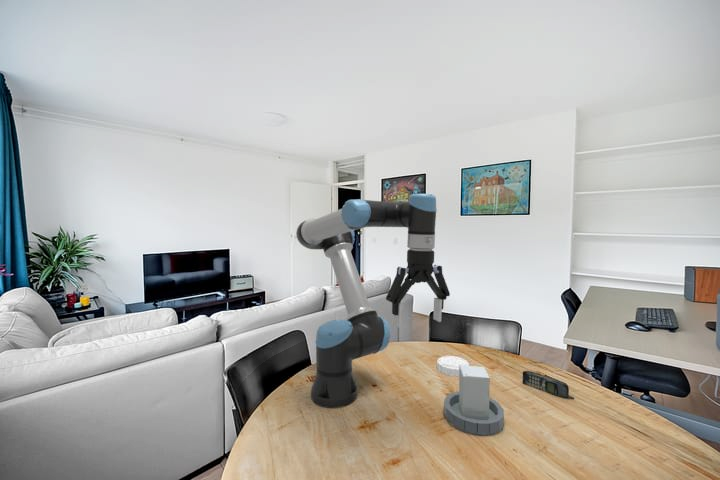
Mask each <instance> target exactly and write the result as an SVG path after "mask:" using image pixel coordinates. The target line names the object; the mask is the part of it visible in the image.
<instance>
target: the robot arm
mask: <svg viewBox="0 0 720 480" xmlns="http://www.w3.org/2000/svg"><path fill="white" fill-rule="evenodd" d="M437 210H438V209H437V197H436V196H435V195H434V194H432V193H431V194H430V193H412V194H410V195H409V197H408V201H407V202H406V201H403V202H402V201H401V202H400V201H398V202H397V201H386V200H385V201H384V200H383V201H382V200H380V201H379V200H366V199H360V198H358V199H348V200H347V201H345V202H344V205H343V206H342V208H339V209H337V210H335V211H333V212H331V213H328V214H326V215H323V216H321V217H317V218H309V219H306V220H304V221H302V222H300V224H299V225H298V227H297V228H296V238H297V240H298V243H299V244H300V245H301V246H303V247H304V248H306V249H308V250H323V252H324V256H325V257H326V258H329V259H330V262H331V265H332V269H333V273H334V275H335V278H336V282H337V284H338V287H339V290H340V294H341V297H342V300H343V303H344V307H345V309H346V312H347V317H346V319H338V320H337V319H335V320H330V321H327V322H324V323H323V324H321V325H320V326H319V327H318V329H317V331H316V334H315V335H316V337H315V345H316V346H315V351H316V354H315V356H316V357H315V358H316V366H315V367H316V374H315V376H314V379H313V382H312V385H311V389H310V395H311V401H313V403H314V404H316V405H317V406H320V407H322V408H323V407H324V408H332V409H333V408H342V407H345V406H349V405H350V404H352V403H353V402H354V401H355V400H357V398H358V386H357V382H356V379H355V376H354V373H353V361H354V360H357V359H359V358H362V357H366V356H368V355H375V354H377V353H379V352H382V351H384V350H386V348H387V347H388V346H389V343H390V339H391V330H390V329H391V328H390V326H389V323H388V321H387V319H385V318H384V317H381V316H379V315H378V312H377V310H376V309H375V308H372V307H371V306H370V302H369V299H368V297H367V294H366V291H365V289H364V285H363V283H362V280H361V276H360V274H359V271H358V268H357V265H356V262H355V259H354V257H353V255H352V250H353V248H354V246H353V245H354V244H355V239H356V238H355V236H356V235H355V231H356V230H360V229H364V228H407V245H406V246H407V248H408V249H407V250H406V262H407V266H406V267H403V266H402V267H401V266H397V268H396V273H395V274H396V275H395V277H394V279H393V281H392V283H391V286H390V288H389V290H388V292H387V294H386V297H385V299H386V301H388V302H390V303H392V304H391V313H392V314H393V315H394V316H393V325H394V326H395V327H397V328H398V329H401V328H402V323H403V322H402V319H403V316H402V315H403V303H401V302H402V300H403V299H404V297H405V296H406V294H407V293H408V292H409V290H410V289H411V288H412V286H414V285H415V284H420V283H427V285H428V286H429V288H430V289H431V290H432V292H433V293H434V295H435V296H436V297H434V298H433V316H432V317H433V318H432V319H433V320H435V321H436V322H438V323H441V322H442V314H443V311H442V310H444V306H445V305H444V301H446V300H447V299H448V297H450V295H451V293H450V291H449V287H448V285H447V282H446V279H445V276H444V274H443V266H442V265H438V264H434V262H435V251H434V249H435V243H436V242H435V241H436V221H437ZM433 264H434V265H433ZM432 274H433V275H434V277H433V276H432ZM406 275H407V276H406ZM434 278H435V279H434Z"/></svg>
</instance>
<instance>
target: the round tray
mask: <svg viewBox="0 0 720 480" xmlns="http://www.w3.org/2000/svg"><path fill="white" fill-rule="evenodd" d="M443 413H444V417H445V419H446V420H447V422H448V423H449V424H450V425H451V426H452V427H454V428H456V429H457V430H459V431H461V432H464V433H466V434H469V435H474V436H480V437H481V436H482V437H486V436H493V435H496V434H499V433H500V432H501V431H502V430H503V429H504V425H505V422H504V421H505V419H504V418H505V414H504V413H505V412H504V408H503V406H502V405H501V404H500V403H499V402H498V401H497V400H495V399H493V398H492V397H490V396H489V419H488V420H475V419H471V418H466V417H464V416H462V415H461V412H460V408H459V390H458V391H454V392H451V393H449V394H447V395H446V396H445V398H444V401H443Z"/></svg>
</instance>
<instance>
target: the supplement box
mask: <svg viewBox="0 0 720 480" xmlns="http://www.w3.org/2000/svg"><path fill="white" fill-rule="evenodd" d="M490 378H491V377H490V376H489V374H488V371H487V369H486V368H485V366H476V365H469V366H463V365H460V366H459V377H458V379H459V382H458V386H459V387H458V391H459V408H460V412H461V415H462V416H464V417H466V418H471V419H475V420H488V419H489V397H490V381H491V380H490Z"/></svg>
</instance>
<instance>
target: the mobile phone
mask: <svg viewBox="0 0 720 480" xmlns="http://www.w3.org/2000/svg"><path fill="white" fill-rule="evenodd" d="M522 384H523V385H526V386H527V387H531V388H534V389H537V390H538V391H539V390H540V391H542V392H543V393H544V392H545V393H547V394H550V395H552V396H556V397H562V398H569V399H572V400H575V397H574V396H571V395H570V394H569V392H570V391H569V388H570V387H569V385H568V384H567V383H566V382H565V381H563V380H559V379H556V378H555V377H554V378H553V377H550V376H548V375H547V376H546V375H544V374H540V373H538V372H534V371H529V370H523V371H522Z"/></svg>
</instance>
